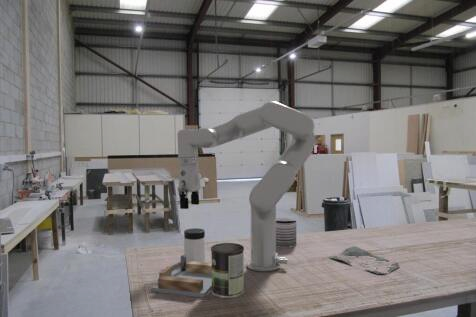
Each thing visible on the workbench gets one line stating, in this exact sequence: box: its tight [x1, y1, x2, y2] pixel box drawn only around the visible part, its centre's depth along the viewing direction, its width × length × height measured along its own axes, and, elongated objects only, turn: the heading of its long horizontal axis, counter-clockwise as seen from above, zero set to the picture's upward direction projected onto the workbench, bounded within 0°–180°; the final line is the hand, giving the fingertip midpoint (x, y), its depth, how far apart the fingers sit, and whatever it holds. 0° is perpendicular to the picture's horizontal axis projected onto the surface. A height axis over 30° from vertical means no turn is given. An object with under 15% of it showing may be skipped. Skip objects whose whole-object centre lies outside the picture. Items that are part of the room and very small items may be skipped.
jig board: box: [150, 266, 212, 298], centre depth 122 cm, size 18×20×4 cm
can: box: [276, 217, 297, 248], centre depth 167 cm, size 11×11×12 cm
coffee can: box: [210, 242, 245, 299], centre depth 114 cm, size 10×10×14 cm
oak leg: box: [186, 261, 212, 274], centre depth 128 cm, size 12×3×3 cm, turn 74°
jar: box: [183, 227, 206, 263], centre depth 145 cm, size 9×8×12 cm
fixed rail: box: [157, 276, 203, 293], centre depth 114 cm, size 14×3×3 cm, turn 74°
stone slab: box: [328, 245, 400, 275], centre depth 141 cm, size 24×16×2 cm, turn 33°
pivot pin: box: [180, 254, 186, 271], centre depth 130 cm, size 2×2×5 cm
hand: (190, 206), depth 140 cm, fingers open, 9 cm apart
